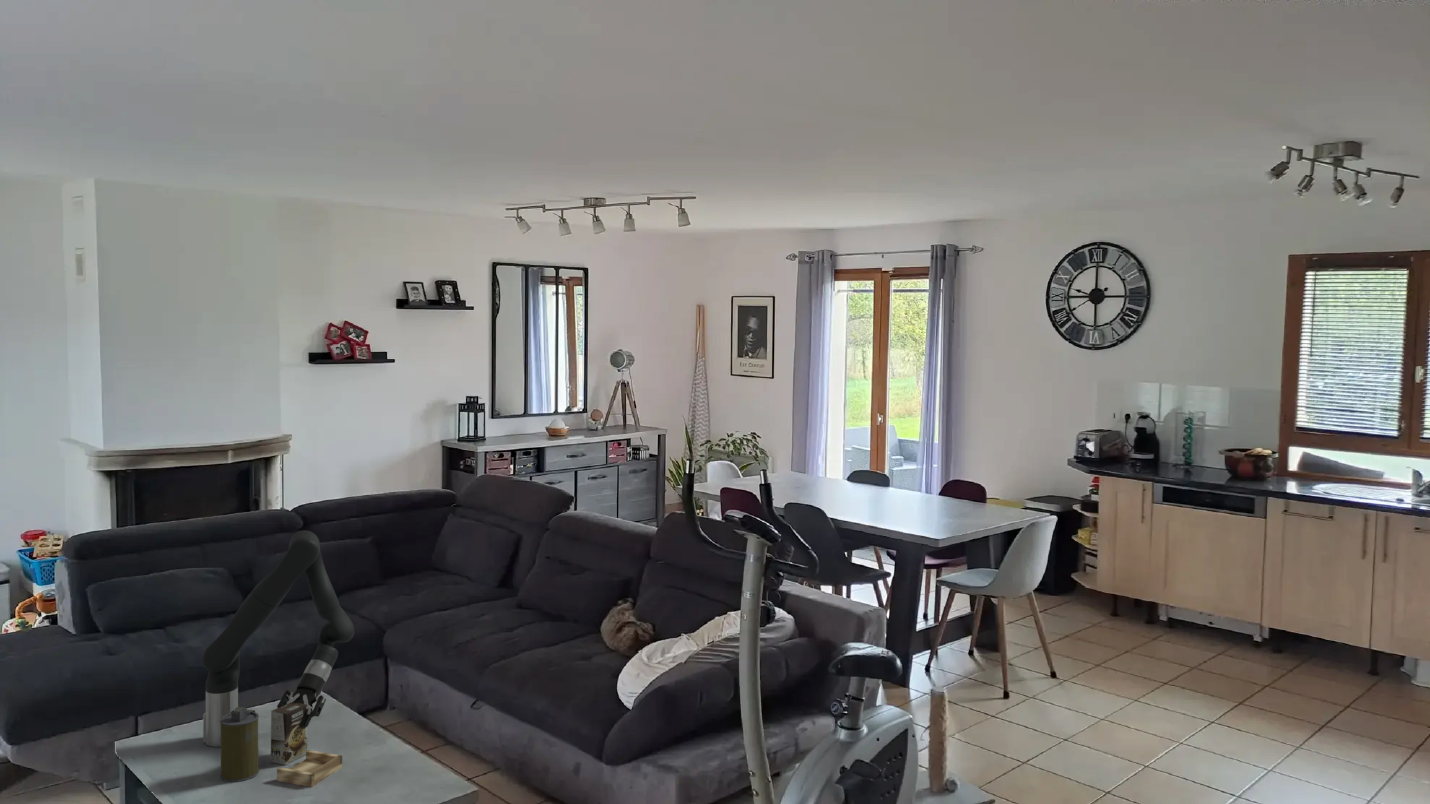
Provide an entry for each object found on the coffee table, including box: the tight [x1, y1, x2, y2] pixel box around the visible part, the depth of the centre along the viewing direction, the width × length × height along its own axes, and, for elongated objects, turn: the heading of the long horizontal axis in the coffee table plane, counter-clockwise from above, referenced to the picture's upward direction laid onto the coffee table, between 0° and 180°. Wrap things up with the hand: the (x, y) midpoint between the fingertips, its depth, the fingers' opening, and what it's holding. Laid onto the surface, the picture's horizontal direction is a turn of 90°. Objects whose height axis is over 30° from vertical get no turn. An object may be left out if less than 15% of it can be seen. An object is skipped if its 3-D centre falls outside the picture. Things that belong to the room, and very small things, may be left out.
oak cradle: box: [276, 749, 343, 788], centre depth 298 cm, size 12×14×4 cm
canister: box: [219, 706, 260, 783], centre depth 296 cm, size 11×10×20 cm
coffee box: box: [270, 702, 309, 766], centre depth 308 cm, size 9×6×16 cm
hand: (290, 725), depth 308 cm, fingers open, 8 cm apart
